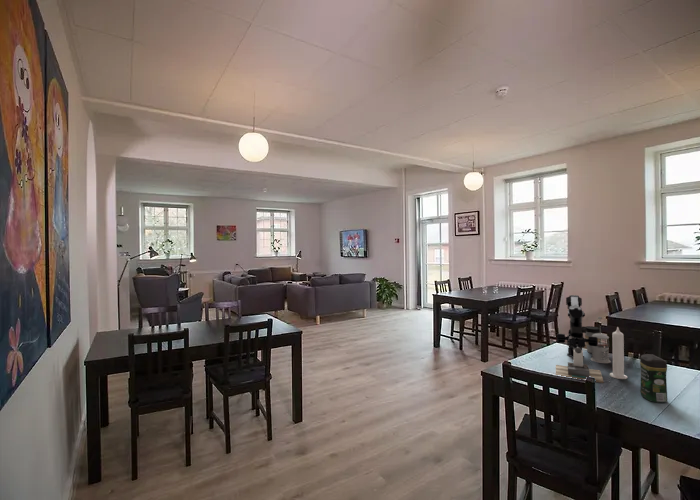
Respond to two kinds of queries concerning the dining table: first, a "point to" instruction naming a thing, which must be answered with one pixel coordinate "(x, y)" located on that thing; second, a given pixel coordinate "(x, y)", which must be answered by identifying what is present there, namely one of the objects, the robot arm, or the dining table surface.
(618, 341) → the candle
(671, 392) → the dining table surface
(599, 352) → the french press
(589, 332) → the coffee cup
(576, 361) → the lever
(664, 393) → the coffee jar
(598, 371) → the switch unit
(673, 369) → the dining table surface
